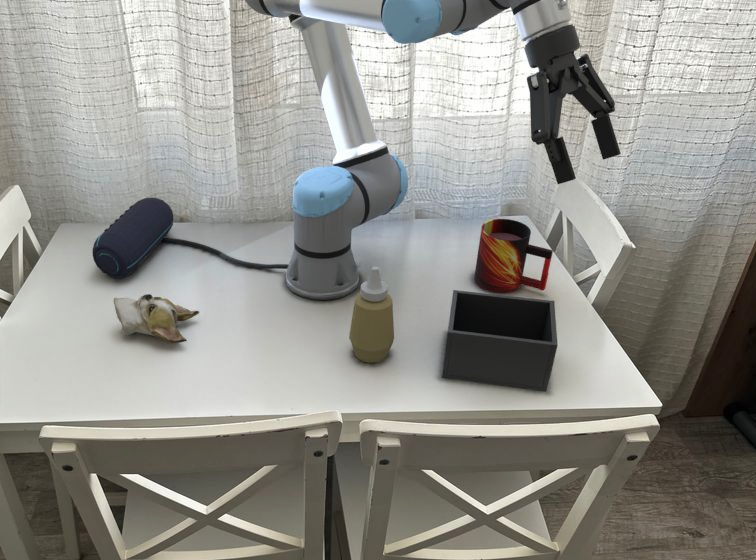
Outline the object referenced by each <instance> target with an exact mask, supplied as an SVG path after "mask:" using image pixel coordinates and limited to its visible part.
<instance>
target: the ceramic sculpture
mask: <svg viewBox="0 0 756 560" xmlns="http://www.w3.org/2000/svg"><path fill="white" fill-rule="evenodd" d="M113 306H114V310H115V315H116V318H117V320H118V321H119V323H120V324H121V330H122V332H123V333H124V334H125V335H126V336H132V335H133V334H134V333H139V334H145V335H149V336H153V337H155V338H157V339H158V340H160V341H161V342H163V343H166V344H179V343H184V342H187V341H188V339H186V338H185V337H184V335H182V333H181V332H180V330H179V329H177V328H176V327H177V324H178V322H186V321H188V320H190V319H192V318H194V317H196V316H197V315H199V314H200V311H199V310H189V309H188V308H185V307H184V306H181V305H178V304H174V303H173V302H172V301H171V300H170V299H168V298H162V297H161V296H153V295H152V294H151V293H148V294H143V295H141V296H139V298H138V299H134V298H129V297H114V298H113Z"/></svg>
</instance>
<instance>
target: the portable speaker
mask: <svg viewBox="0 0 756 560" xmlns="http://www.w3.org/2000/svg"><path fill="white" fill-rule="evenodd" d="M173 212H174V211H173V210H172V208H171V206H170V205H169V204H168V203H167V202H165V200H163V199H161V198H159V197H144V198H142V199H139V200H137V201H136V202H135V203H133V204H131V205H130V206H129V208H128V209H126V210H125V211H124V212H123V213H122V214H120V215H119V217H118V218H116V219H115V220H114V222H113V223H110V224H109V227H108V228H105V229H104V230H103V232H102V233H101V234H100V235H99V236H98V237H96V239H95V241H94V242H93V246H92V258H93V262H94V263H95V265H96V267H97V268H98V269H99V270H100V271H101V272H102V273H103V274H105V275H106V276H108V277H109V278H113V279H123V278H125V277H127V276H129V275H130V274H132V273H134V271H135V270H136V269H137V268H138V267H139V266H140V265H141V264H142V263H143V262H144V261H145V259H146V258H147V257H148V256H149V255H150V254H151V253H152V252H153V251H154V250H155V249H156V247H157V246H158V245H159V244H160V243H162V242H161V241H162V240H163V239H164V238H167V236H168V234H169V233H170V231H171V230H172V227H173V226H174V213H173Z"/></svg>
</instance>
